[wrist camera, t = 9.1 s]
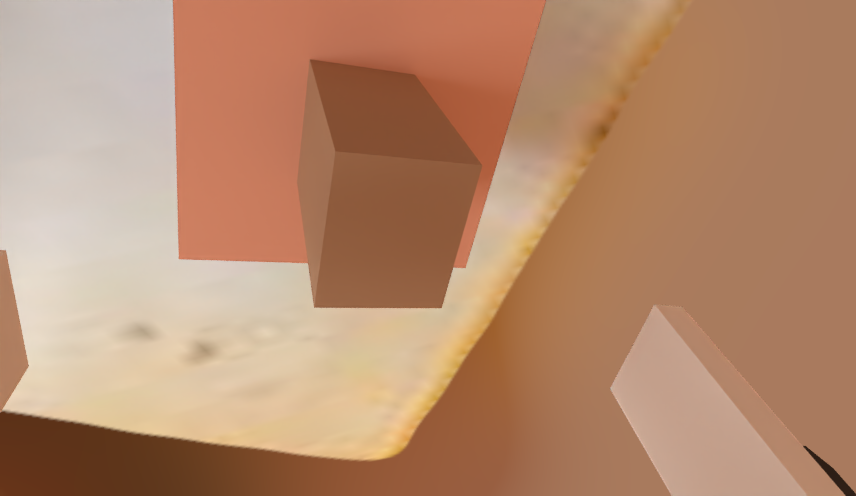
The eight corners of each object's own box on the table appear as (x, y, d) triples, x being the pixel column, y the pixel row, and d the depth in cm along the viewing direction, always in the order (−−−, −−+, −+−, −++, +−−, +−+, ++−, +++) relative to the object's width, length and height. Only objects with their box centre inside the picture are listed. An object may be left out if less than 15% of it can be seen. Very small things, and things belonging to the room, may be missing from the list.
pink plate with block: (181, 243, 24) (151, 408, 17) (175, -100, 18) (120, -71, 10) (458, 254, 29) (528, 390, 21) (537, -20, 22) (680, 41, 15)
